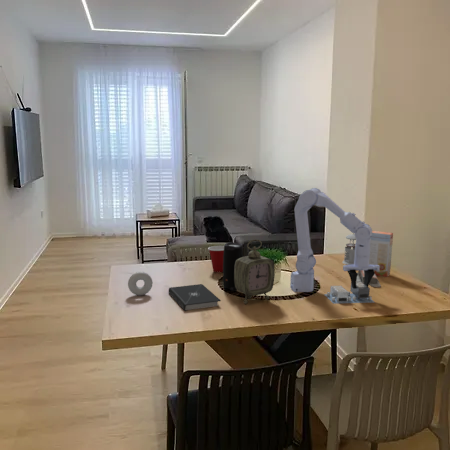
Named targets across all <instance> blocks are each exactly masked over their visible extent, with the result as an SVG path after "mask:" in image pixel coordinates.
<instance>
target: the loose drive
mask: <svg viewBox="0 0 450 450" xmlns="http://www.w3.org/2000/svg"><path fill="white" fill-rule="evenodd" d="M349 292H350V293H353V294H354V295H355V296H356V297H357V298H369V296H370V287H369V285H368V286H366V285H365V284H364V283H363V282H362V281H361V282H356V289H354V288H352V283H351V282H350V291H349Z"/></svg>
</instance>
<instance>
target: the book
mask: <svg viewBox="0 0 450 450" xmlns="http://www.w3.org/2000/svg"><path fill="white" fill-rule="evenodd" d="M168 294H169V295H170V296H171V298H172V299H173V300H174V301H175V302H176V303H177V304H178V305H179V307H181V309H182V310H183V311H184V312H186V311H190V310H196V309H197V310H198V309H204V308H205V309H206V308H211V307H218V306H219V304H218V303H219V302H221V301H222V300H221V299H220V298H219V297H218V296H217V295H216V294H214V293H213V292H212V291H211V290H210V289H209V288H207V287H206V286H205V285H204V284H202V283H200V284H191V285H183V286H173V287H172V286H171V287H168Z"/></svg>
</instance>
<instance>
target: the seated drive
mask: <svg viewBox="0 0 450 450" xmlns="http://www.w3.org/2000/svg"><path fill="white" fill-rule="evenodd" d="M349 292H350V291H348V290H347V289H346V288H344V287H343V286H342V285H330V296H331V297H335V301H336V302H348V294H349Z"/></svg>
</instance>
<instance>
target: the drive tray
mask: <svg viewBox="0 0 450 450" xmlns="http://www.w3.org/2000/svg"><path fill="white" fill-rule="evenodd" d="M348 292H349V294H348V302H336V301H335V297H331V296H330V292H329V291H328V292H326V293H324V294H323V295H324V296H325V297H326V298H327V299H328V301H330V302H331V303H332V304H335V305H336V304H361V303H362V304H365V303H366V304H367V303H375V301H374V300H373V299H372V296H371V295H369V298H357V297H356V296H355V295H354V294H353V293H352V292H351V291H348Z"/></svg>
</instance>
